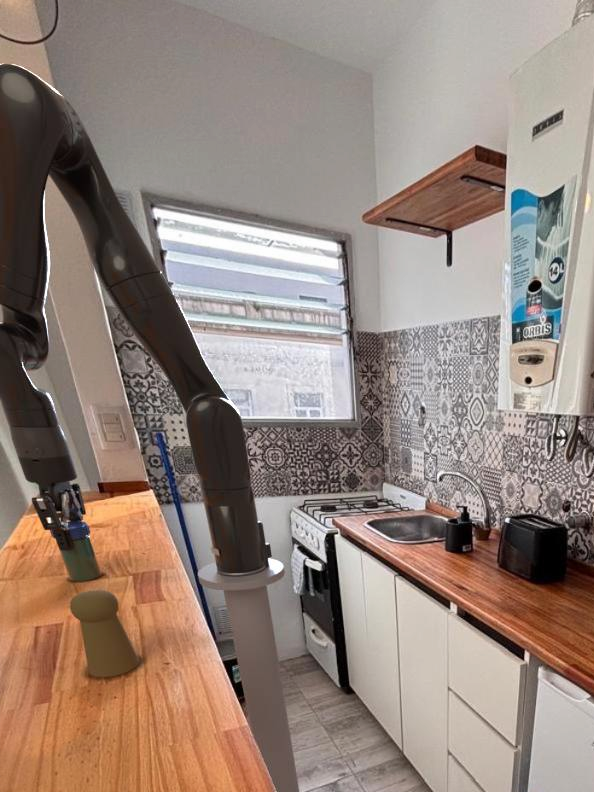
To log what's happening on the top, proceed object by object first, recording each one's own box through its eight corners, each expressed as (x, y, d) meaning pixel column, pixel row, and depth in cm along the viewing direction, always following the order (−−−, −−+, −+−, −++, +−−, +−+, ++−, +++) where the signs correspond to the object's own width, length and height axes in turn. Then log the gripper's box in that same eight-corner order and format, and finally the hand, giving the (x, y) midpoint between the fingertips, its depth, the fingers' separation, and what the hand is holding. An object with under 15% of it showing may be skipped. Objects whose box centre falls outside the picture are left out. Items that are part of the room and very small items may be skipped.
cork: (149, 659, 75) (129, 588, 70) (114, 680, 69) (89, 604, 64) (114, 653, 76) (92, 583, 71) (77, 673, 70) (50, 599, 65)
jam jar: (92, 570, 105) (77, 523, 101) (107, 575, 103) (92, 528, 99) (64, 577, 101) (46, 530, 97) (79, 583, 99) (62, 534, 95)
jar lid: (44, 537, 96) (41, 528, 95) (71, 529, 101) (68, 520, 100) (72, 540, 95) (68, 530, 95) (97, 532, 101) (94, 522, 100)
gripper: (38, 447, 97) (67, 535, 104) (-3, 458, 84) (33, 557, 92) (84, 447, 99) (109, 534, 106) (50, 459, 86) (82, 555, 94)
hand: (74, 544), depth 99 cm, fingers closed on jar lid, 6 cm apart
